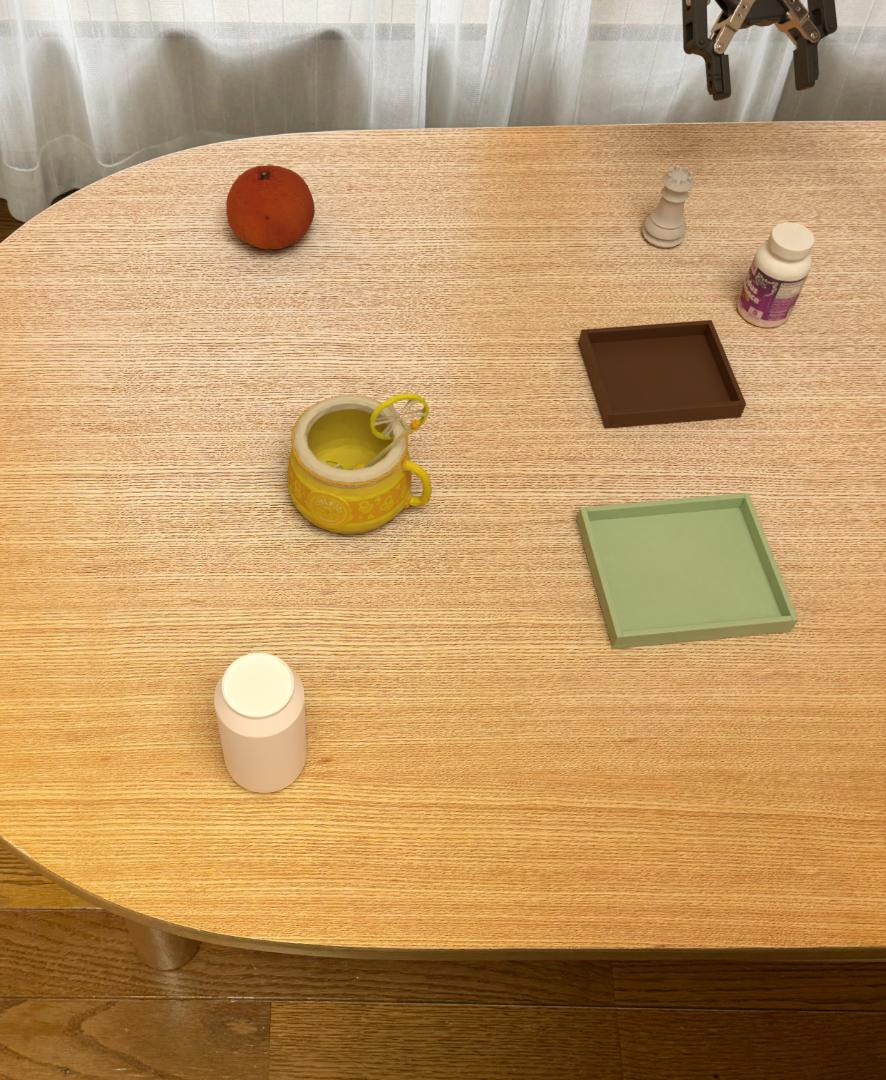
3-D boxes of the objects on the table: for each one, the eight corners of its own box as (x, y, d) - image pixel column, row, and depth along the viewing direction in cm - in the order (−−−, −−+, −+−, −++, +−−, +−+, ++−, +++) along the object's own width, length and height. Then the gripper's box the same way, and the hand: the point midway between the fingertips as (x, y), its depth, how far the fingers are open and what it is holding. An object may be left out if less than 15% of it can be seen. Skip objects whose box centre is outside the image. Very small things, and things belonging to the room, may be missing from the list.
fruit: (219, 258, 121) (212, 194, 114) (242, 203, 126) (237, 140, 119) (302, 272, 120) (301, 208, 113) (322, 216, 125) (322, 153, 118)
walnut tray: (706, 333, 116) (711, 319, 114) (740, 417, 109) (746, 403, 108) (577, 343, 115) (581, 329, 113) (604, 428, 108) (608, 415, 107)
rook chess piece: (665, 256, 122) (683, 193, 115) (632, 234, 124) (649, 171, 117) (692, 238, 124) (712, 175, 117) (659, 216, 126) (677, 153, 119)
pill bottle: (724, 300, 118) (752, 224, 110) (768, 286, 120) (799, 210, 112) (755, 336, 115) (786, 260, 108) (800, 321, 117) (833, 245, 109)
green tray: (742, 505, 103) (748, 492, 102) (791, 631, 96) (798, 619, 94) (576, 520, 102) (579, 507, 101) (612, 649, 95) (617, 637, 93)
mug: (268, 523, 101) (261, 432, 92) (314, 433, 107) (312, 339, 98) (408, 566, 99) (416, 478, 89) (447, 472, 105) (459, 379, 95)
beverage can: (314, 789, 87) (311, 716, 78) (231, 805, 87) (218, 733, 77) (299, 715, 91) (294, 636, 81) (219, 730, 90) (205, 652, 80)
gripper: (698, -101, 102) (714, 95, 105) (847, -115, 104) (857, 77, 107) (660, -72, 109) (675, 110, 112) (799, -86, 111) (810, 93, 114)
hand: (764, 94), depth 110 cm, fingers open, 8 cm apart
